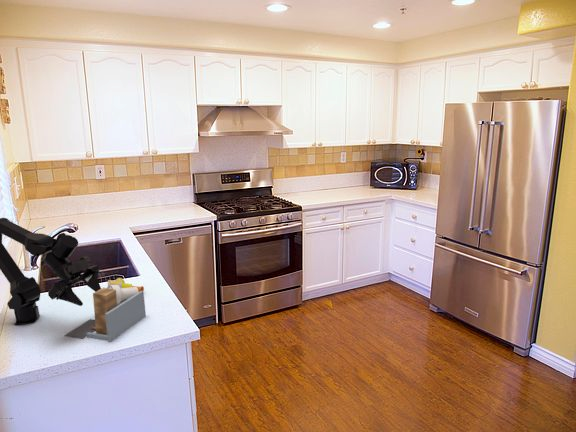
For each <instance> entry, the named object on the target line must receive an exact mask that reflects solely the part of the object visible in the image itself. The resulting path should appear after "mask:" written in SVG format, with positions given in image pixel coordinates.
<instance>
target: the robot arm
mask: <svg viewBox="0 0 576 432" xmlns="http://www.w3.org/2000/svg"><path fill="white" fill-rule="evenodd" d="M3 235H4V236H6V237H8V238H10V239H11V240H13V241H15V242H17V243H19V244H21V245H23V246H24V249H25V250H26V251H27V252H28V253H29V254H31V255H32V256H34V257H39V256H42V255H45V256H43V257H41V258H40V266H41V267H43V266H46V265H47V266H48V268H49V269H50V270H51V271H53V273H54V275H53V277H54V278H55V279H57V278H58V279H60V280H59V281H57V282H56V283H53V285H52V286H51V287H50V289H49V290H48V291H47V294H48V295H47V296H48V297H49V298H50V299H51V300H52V301H53V300H57V301H58V300H61V301H65V302H68V303H71V304H74V305H76V306H80V307H82V306H83V305H84V303H83V301H82V299H80V297H78V296H77V294H76V293H75V291H73V288H72V287H73V286H74V285H76V284H78V283H81V282H84V283H85V285H86V287H88V288H89V289H91V290H92V291H94V293H95V292H96V291H98V290H100V289H102V286H101V285H100V282H99V277H98V276H99V274H100V272H101V268H100V267H99V266H98V265H95V264H93V265H92V266H91V264H92V262H93V261H92V260H91V258H90V257H89V256H88V255H84V256H82V257H80V258H79V261H74V260H72V261H70V260H69V259H68V258H69V257H70V256H72V254H73V252H74V251H75V250H76V248H77V247H78V245H79V241H78V239H77V238H76V237H75V236H72V235H69V234H67V233H65V232H61V233H58V234H57V237H56V238H54V237H52V236H51V235H48V234H46V233H36V232H32V231H30V230H28V229H26V228H24V227H23V226H20V225H19V224H16V223H14V222H12V221H10V220H9V219H8V218H6V217H0V271H1V273H2V275H4V277H5V279H6V280H7V281H8V283H9V286H10V287H9V293H10V296H11V298H10V299H9V300H8V302H7V306H8V309H9V310H13V312H14V317H15V322H14V324H13V325H14V326H17V325H18V326H20V325H27V324H34V323H36V322H37V320H38V319H39V317H40V316H41V314H40V310H39V305H37V302H39V301H40V299H41V292H42V289H41V287H40V284H39V283H38V282H37V280H36V278H34V277H33V276H32V277H27V276H25V275H24V273H23V271H22V270H21V268H20V267H19V266H18V264H17V263H16V262H15V260H14V259H13V257H12V256H11V254H10V252H9V251H8V250H7V248H6V247H5V246H4V244H3ZM85 269H86V270H85Z"/></svg>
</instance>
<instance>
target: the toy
mask: <svg viewBox="0 0 576 432" xmlns="http://www.w3.org/2000/svg"><path fill="white" fill-rule="evenodd" d="M109 285H118V286H119V287H120V288H129V287H137V288H138V291H139V292H140V291H143V292H144V291H145V288H144V285H141V286H138V285H137V286H135V285H133V283H127V282H126V283H125V280H124V279H123V278H122V277H118V278H116V279H115V280H111V279H108V280H107V287H108V286H109Z"/></svg>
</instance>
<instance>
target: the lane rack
mask: <svg viewBox="0 0 576 432" xmlns="http://www.w3.org/2000/svg"><path fill="white" fill-rule="evenodd" d="M145 304H146V303H145V294H144V291H140V292H138V293H137V294H135V295H134V296H132V297H130V298H129V299H127V300H123V302H120V303H119V305H117V306H116V307H115V308H113V309H112V310H110V311H109V312H107V313H105V319H106V327H107V335H104V334H97V333H96V332H92V333H91V332H88V333H86V335H87V337H86V338H88V339H94V340H99V341H100V340H101V341H102V340H103V341H108V343H112V342H113V341H115V340H117V338H118V337H119V336H121V335H123V334H124V333H126V331H127V330H129V329H130V328H132V327H133V326H135V325H136V324H137V323H138V322H140V321H141V320H143V319H144V318H145V317H146V316H147V315H146V314H147V313H146V305H145Z"/></svg>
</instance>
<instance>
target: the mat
mask: <svg viewBox="0 0 576 432" xmlns="http://www.w3.org/2000/svg"><path fill="white" fill-rule="evenodd" d="M91 327H96V324H95V319H94V318H93V319H92V318H90V319H88V320H87V321H85V322H83V323H82V324H79V326H77V327H75V328H74V329H72V330H70V331H69V332H67V333H66V334H64V337H69V338H73V339H80V340H84V339H85V338H88V337H87V335H86V333H88V332H91V333H95V332H96V330H94V329H91Z"/></svg>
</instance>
